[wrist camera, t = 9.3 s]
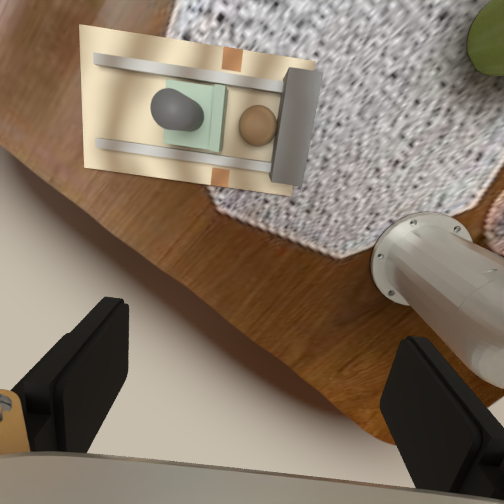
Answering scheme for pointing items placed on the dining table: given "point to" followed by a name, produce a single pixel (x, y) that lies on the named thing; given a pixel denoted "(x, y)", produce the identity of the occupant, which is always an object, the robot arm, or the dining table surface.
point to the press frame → (206, 73)
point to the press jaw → (191, 114)
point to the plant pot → (488, 39)
